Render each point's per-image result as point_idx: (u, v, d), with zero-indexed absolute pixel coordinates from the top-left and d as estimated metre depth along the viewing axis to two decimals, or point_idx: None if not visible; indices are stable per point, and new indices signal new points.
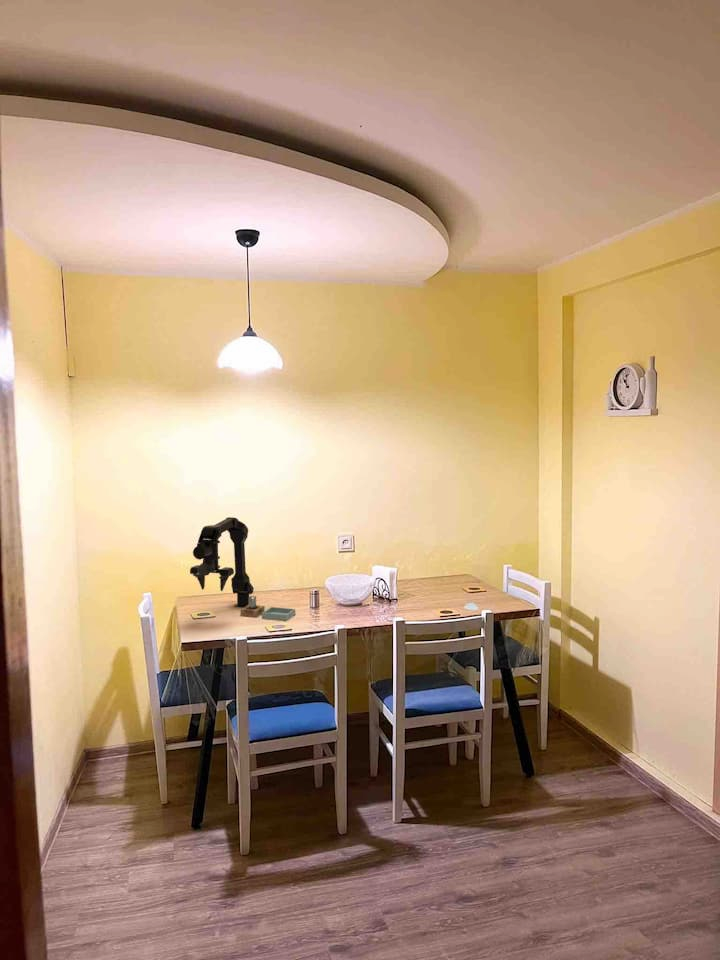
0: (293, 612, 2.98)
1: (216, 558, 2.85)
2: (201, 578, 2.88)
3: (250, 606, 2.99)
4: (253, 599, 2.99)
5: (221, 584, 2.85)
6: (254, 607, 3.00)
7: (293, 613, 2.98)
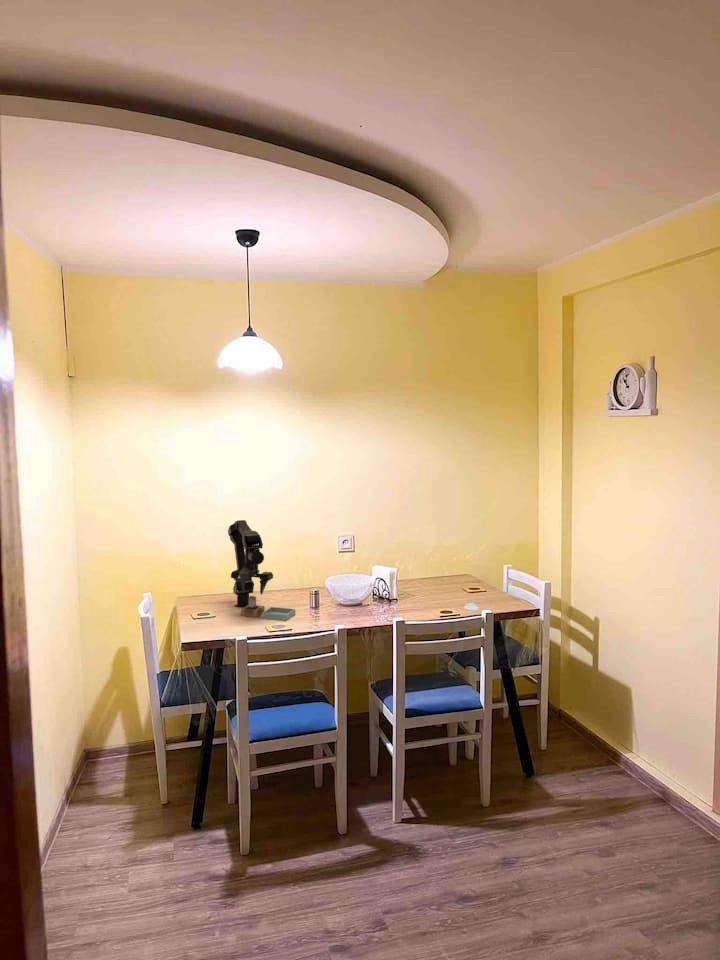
0: (293, 612, 2.98)
1: None
2: (241, 582, 3.01)
3: (250, 606, 2.99)
4: (253, 599, 2.99)
5: (261, 588, 2.98)
6: (254, 607, 3.00)
7: (293, 613, 2.98)
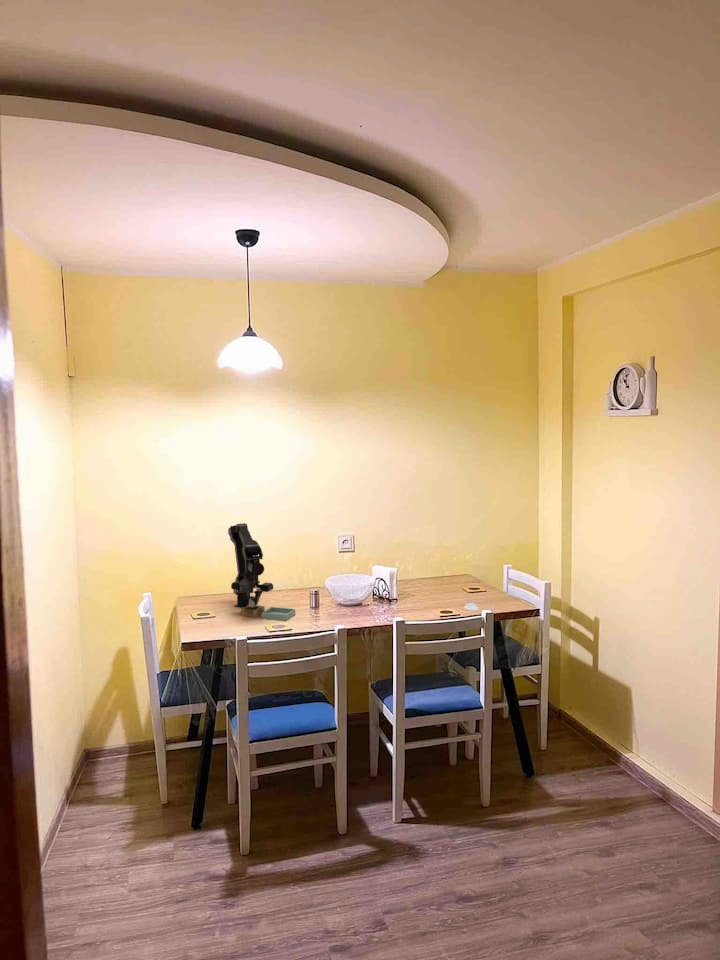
0: (293, 612, 2.98)
1: None
2: (247, 593, 3.00)
3: (250, 606, 2.99)
4: (253, 599, 2.99)
5: (256, 598, 2.99)
6: (254, 607, 3.00)
7: (293, 613, 2.98)
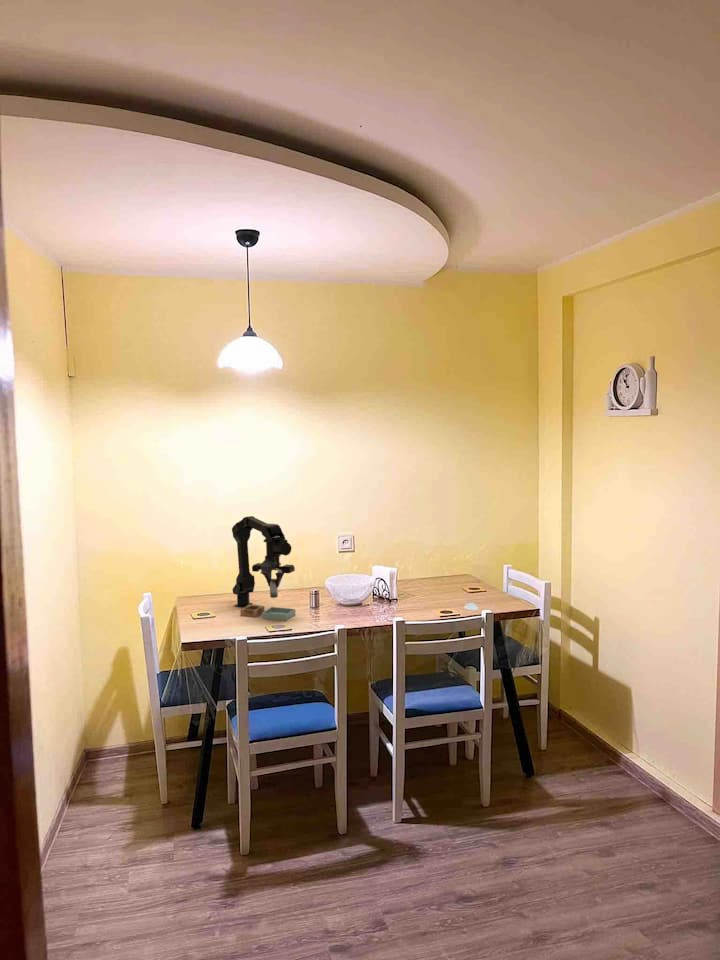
0: (293, 612, 2.98)
1: (277, 556, 2.94)
2: (268, 576, 2.96)
3: (271, 588, 2.95)
4: (274, 581, 2.95)
5: (277, 580, 2.94)
6: (275, 589, 2.95)
7: (293, 613, 2.98)
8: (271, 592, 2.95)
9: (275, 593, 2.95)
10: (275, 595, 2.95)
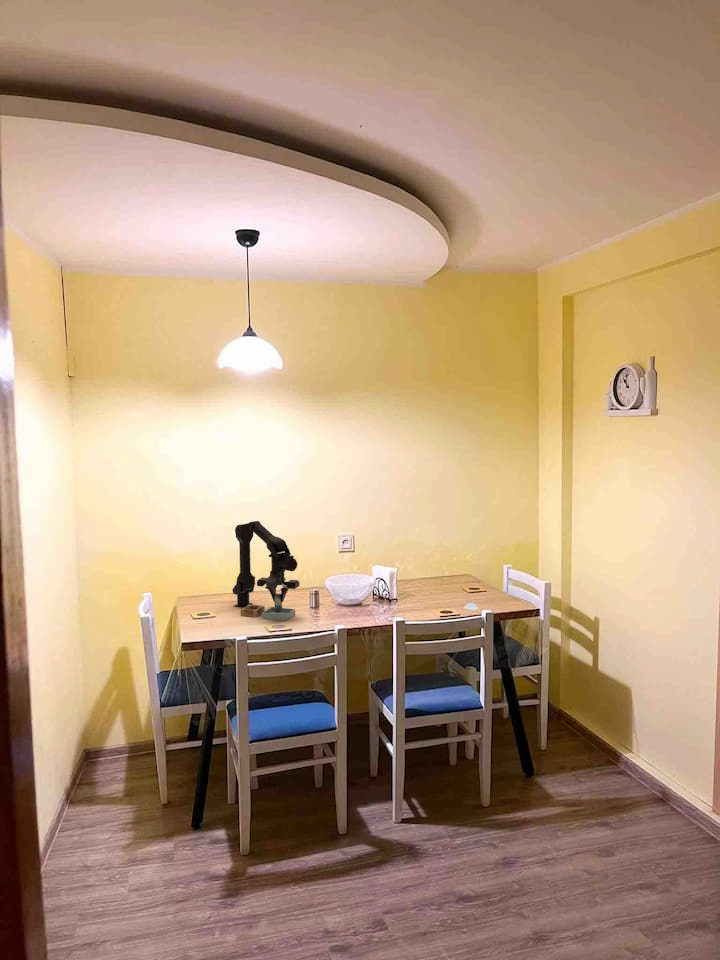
0: (293, 612, 2.98)
1: (283, 571, 2.94)
2: (273, 590, 2.96)
3: (276, 603, 2.95)
4: (279, 596, 2.95)
5: (282, 596, 2.95)
6: (280, 604, 2.95)
7: (293, 613, 2.98)
8: (276, 607, 2.95)
9: (280, 608, 2.96)
10: (280, 610, 2.96)
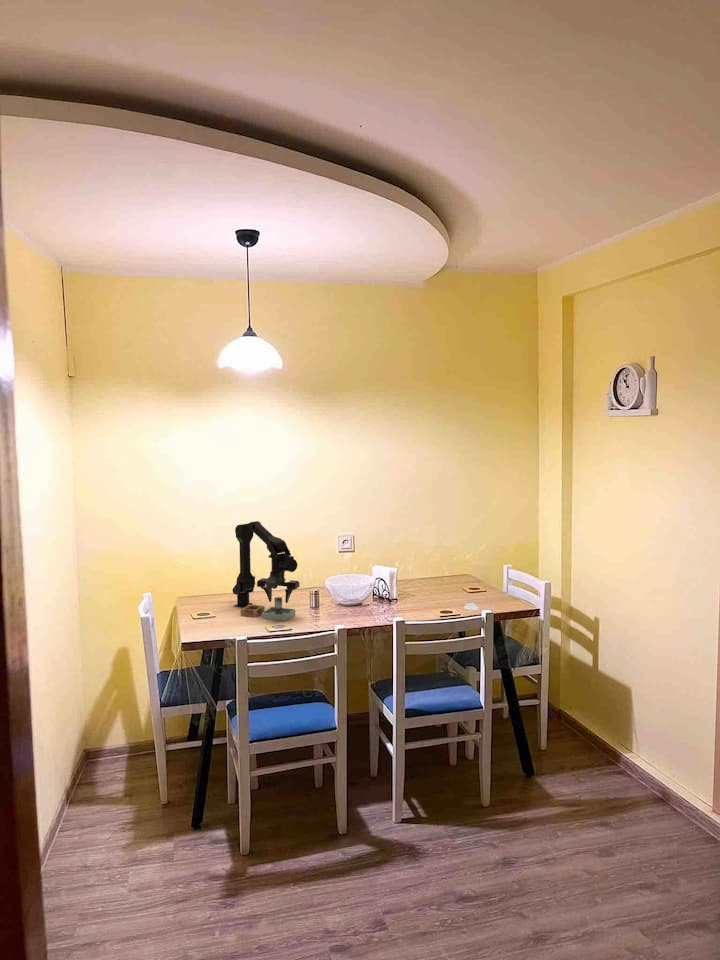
0: (293, 612, 2.98)
1: (283, 571, 2.94)
2: (269, 591, 2.97)
3: (276, 607, 2.95)
4: (279, 600, 2.95)
5: (286, 597, 2.94)
6: (280, 608, 2.96)
7: (293, 613, 2.98)
8: (276, 611, 2.96)
9: (280, 612, 2.96)
10: None
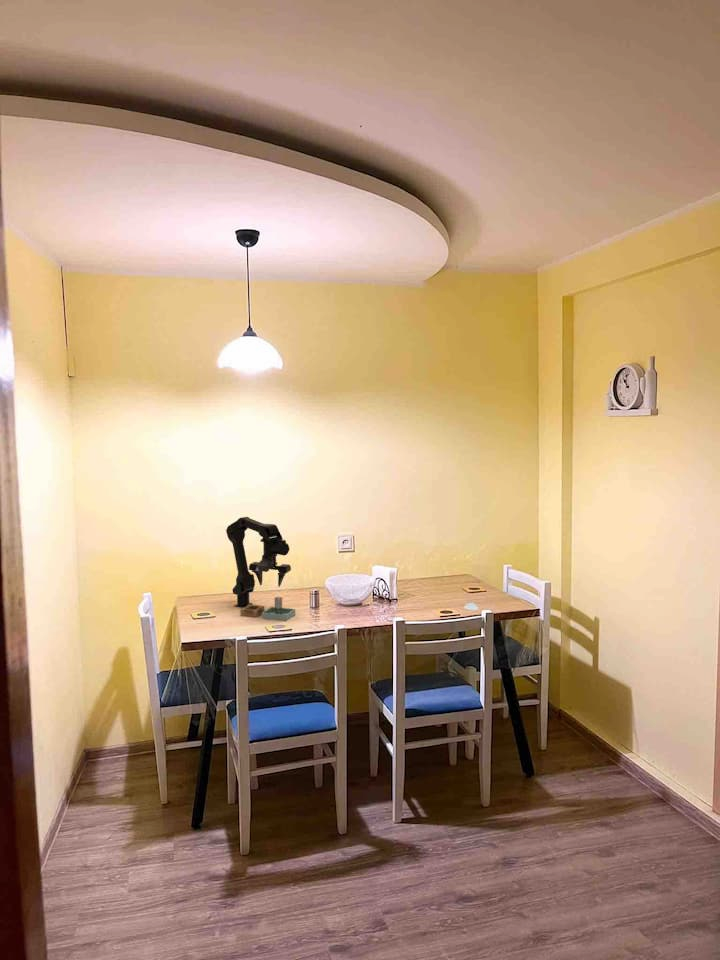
0: (293, 612, 2.98)
1: (274, 555, 2.99)
2: (259, 574, 3.02)
3: (276, 607, 2.95)
4: (279, 600, 2.95)
5: (279, 580, 2.99)
6: (280, 608, 2.96)
7: (293, 613, 2.98)
8: (276, 611, 2.96)
9: (280, 612, 2.96)
10: None
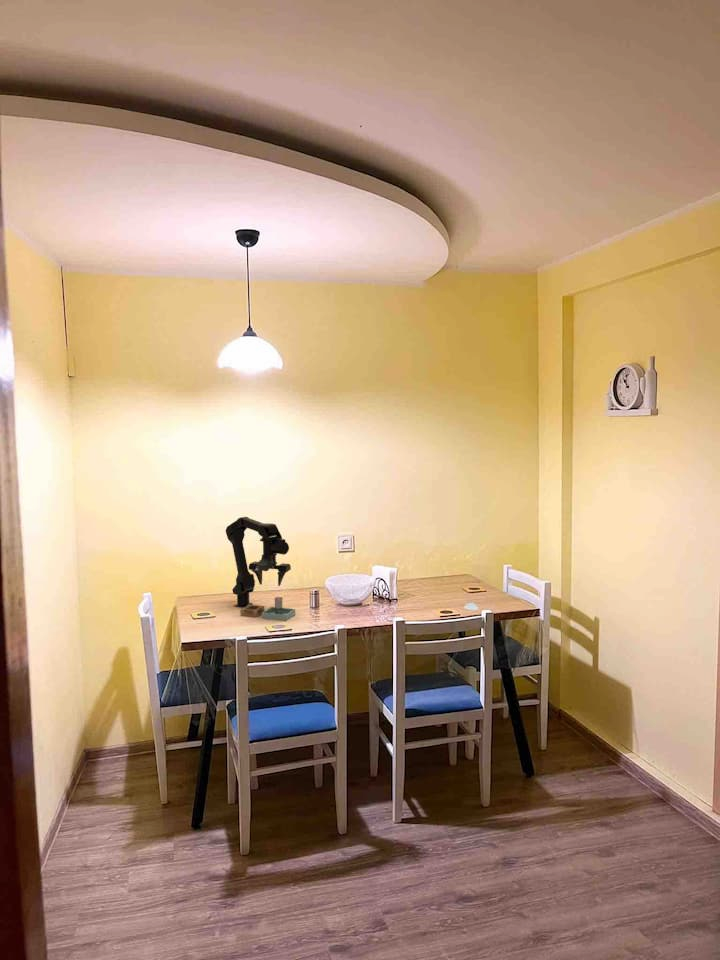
0: (293, 612, 2.98)
1: (274, 555, 2.99)
2: (259, 574, 3.02)
3: (276, 607, 2.95)
4: (279, 600, 2.95)
5: (279, 579, 2.99)
6: (280, 608, 2.96)
7: (293, 613, 2.98)
8: (276, 611, 2.96)
9: (280, 612, 2.96)
10: None
